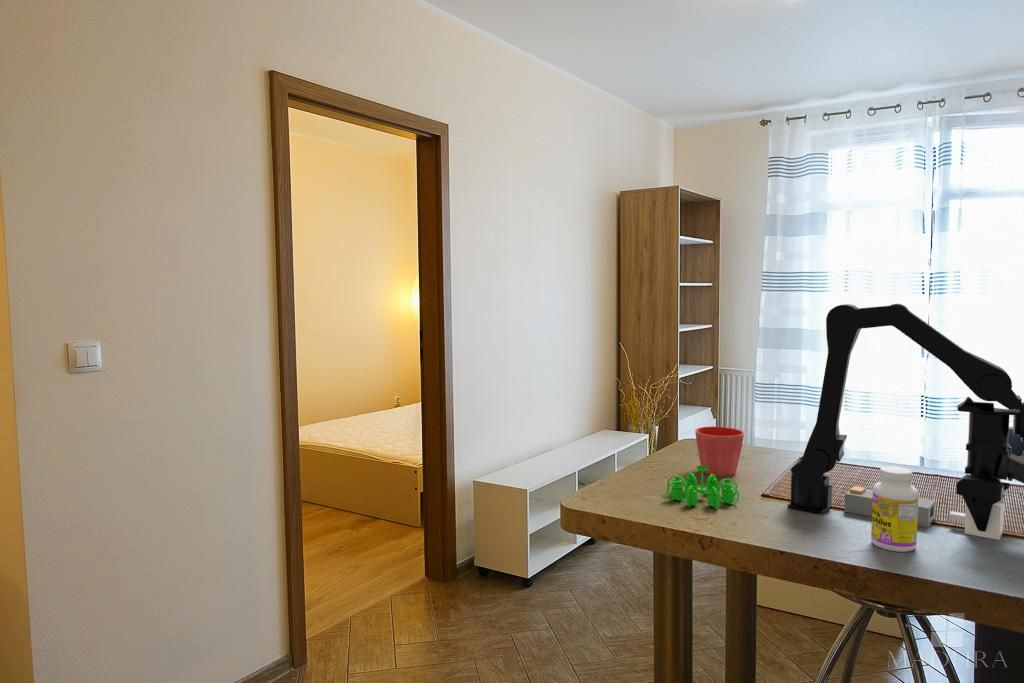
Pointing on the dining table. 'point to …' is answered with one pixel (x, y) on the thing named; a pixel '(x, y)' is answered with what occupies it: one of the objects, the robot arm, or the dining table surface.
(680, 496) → the chandelier
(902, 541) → the supplement bottle
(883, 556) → the dining table surface
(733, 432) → the flower pot
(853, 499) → the power strip
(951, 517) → the charger
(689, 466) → the dining table surface
